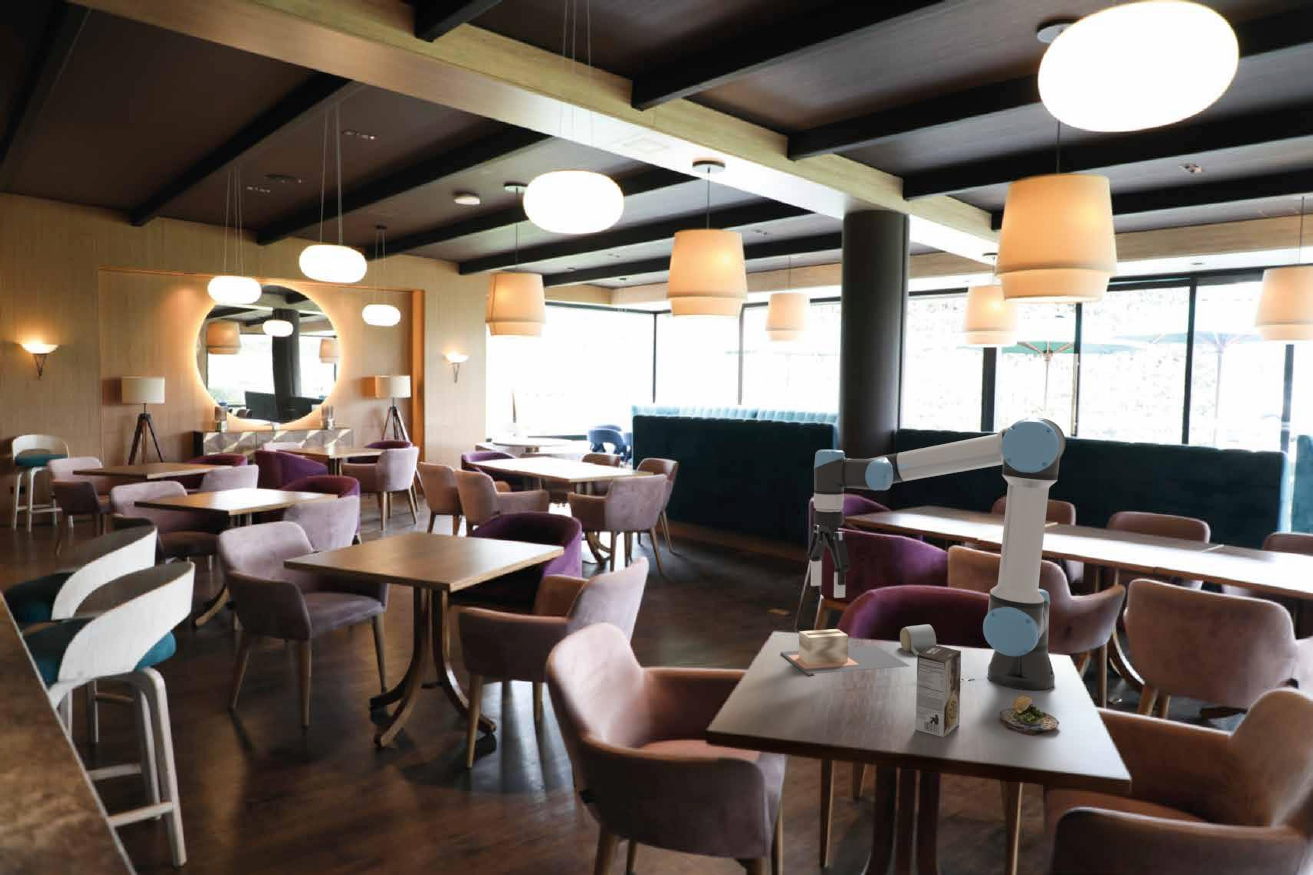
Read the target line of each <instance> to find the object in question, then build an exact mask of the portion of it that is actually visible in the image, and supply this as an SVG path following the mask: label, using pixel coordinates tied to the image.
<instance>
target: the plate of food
mask: <svg viewBox="0 0 1313 875" xmlns="http://www.w3.org/2000/svg"><path fill="white" fill-rule="evenodd" d="M1015 689H1016V693H1017V695H1018V697H1017V698H1016V699H1015V700H1014V702H1013V704H1012V705H1013V706H1012V707H1011V708H1006V709H1003V710H1000V712H999V719H998V721H999V724H1001V725H1002V727H1004V728H1006V729H1007V730H1010V731H1013V732H1015V733H1018V734H1023V735H1028V736H1032V737H1033V736H1035V734H1036V733H1037V732H1047V731H1051V730H1053V729H1055V728H1057V727H1059V725H1060V721H1059V720H1058V719H1057V718H1056V717H1055V716H1053V715H1052V714H1049V713H1047V712H1046V711H1041V710H1040V709H1038V707H1037V706H1035V705H1033V704H1032V702H1033V699H1032V697H1029V696H1020V694H1019V691H1018V690H1017V689H1018V688H1015Z"/></svg>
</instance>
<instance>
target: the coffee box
mask: <svg viewBox="0 0 1313 875" xmlns="http://www.w3.org/2000/svg"><path fill="white" fill-rule="evenodd" d="M916 660H917V661H916V662H917V663H916V693H915V694H916V696H915V697H916V699H915V730H916V731H919V732H923V733H927V734H930V735H934V736H938V737H940V738H941V737H942V738H945V737H946V736H947V735H949V734H950V733H951V732H952V731H953V730H955V729H956V727H958V726H959V725H960V724H961V723H960V720H961V719H960V716H961V715H960V714H961V710H960V709H961V677H962V676H961V675H962V674H961V671H962V669H961V668H962V666H961V664H962V650H958V649H953V648H950V647H946V646H941V645H937V644H936V645H932V646H930V647H929V648H927V649H926V650H924V651H923V652H919V654H918V655H917V659H916Z"/></svg>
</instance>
